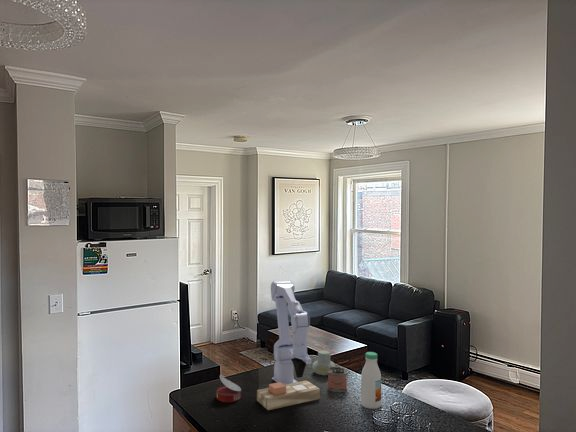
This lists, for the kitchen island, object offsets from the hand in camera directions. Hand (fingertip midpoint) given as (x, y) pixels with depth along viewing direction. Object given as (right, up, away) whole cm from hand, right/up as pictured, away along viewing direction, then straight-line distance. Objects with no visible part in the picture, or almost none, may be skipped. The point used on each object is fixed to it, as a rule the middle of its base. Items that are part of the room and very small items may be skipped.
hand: (299, 376), depth 170 cm
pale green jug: (+12, -9, +27) cm, 31 cm away
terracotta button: (-9, -4, -5) cm, 11 cm away
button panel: (-4, -8, -3) cm, 10 cm away
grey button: (0, -7, 0) cm, 7 cm away
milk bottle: (+27, -9, -7) cm, 30 cm away
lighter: (+16, -9, +8) cm, 20 cm away
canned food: (-28, -8, -1) cm, 29 cm away
